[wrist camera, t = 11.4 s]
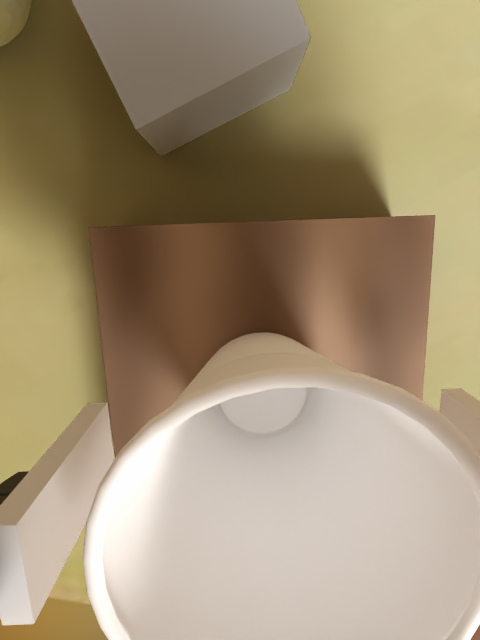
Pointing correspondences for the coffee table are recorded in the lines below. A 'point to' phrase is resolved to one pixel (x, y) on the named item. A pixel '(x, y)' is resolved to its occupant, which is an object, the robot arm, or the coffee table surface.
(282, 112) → the coffee table surface
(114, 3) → the grey block
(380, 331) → the walnut block
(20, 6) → the fruit
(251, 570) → the cup
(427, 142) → the coffee table surface
